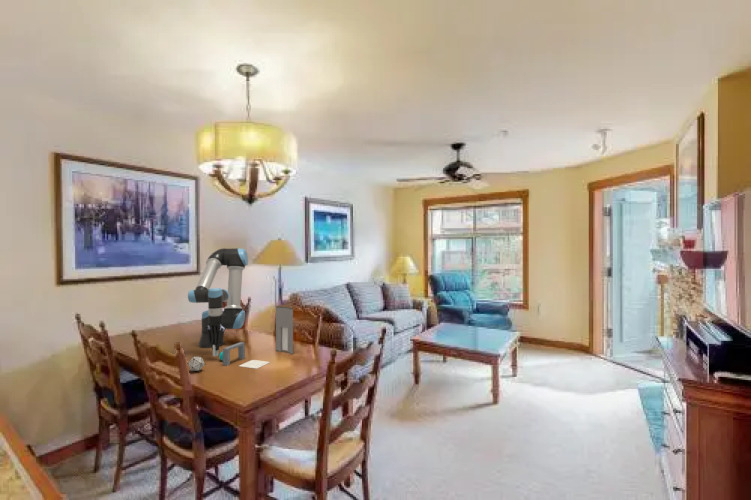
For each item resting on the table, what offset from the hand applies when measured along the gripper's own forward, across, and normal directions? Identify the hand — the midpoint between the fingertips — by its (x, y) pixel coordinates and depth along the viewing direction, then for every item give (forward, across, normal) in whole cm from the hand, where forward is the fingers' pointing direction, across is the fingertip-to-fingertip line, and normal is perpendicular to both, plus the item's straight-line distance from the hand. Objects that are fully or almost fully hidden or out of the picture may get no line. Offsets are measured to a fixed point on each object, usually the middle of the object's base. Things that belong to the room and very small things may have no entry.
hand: (215, 355), depth 222 cm
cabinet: (+2, +26, +30) cm, 40 cm away
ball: (-1, +6, 0) cm, 7 cm away
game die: (+2, +6, -20) cm, 21 cm away
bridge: (+2, +13, 0) cm, 13 cm away
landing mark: (+2, +27, 0) cm, 27 cm away
